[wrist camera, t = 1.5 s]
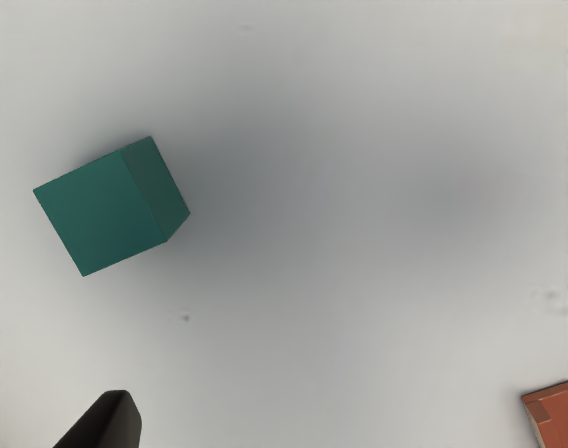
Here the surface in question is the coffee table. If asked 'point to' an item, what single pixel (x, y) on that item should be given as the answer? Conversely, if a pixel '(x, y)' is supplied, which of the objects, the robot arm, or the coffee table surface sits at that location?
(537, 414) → the orange handled tray
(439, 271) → the coffee table surface
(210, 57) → the coffee table surface
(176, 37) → the coffee table surface
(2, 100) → the coffee table surface
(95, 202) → the block
